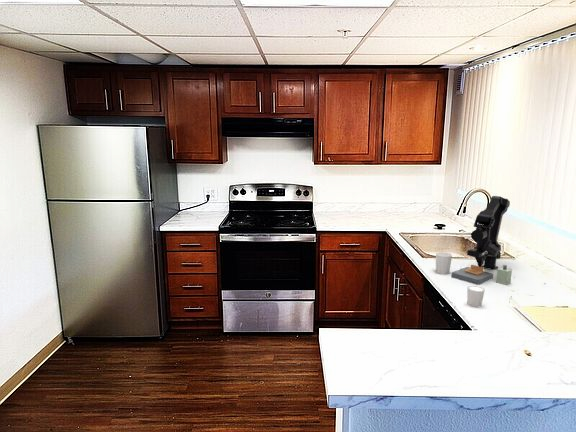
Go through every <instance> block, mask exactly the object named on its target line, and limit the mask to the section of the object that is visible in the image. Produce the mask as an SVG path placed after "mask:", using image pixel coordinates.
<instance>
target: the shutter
mask: <svg viewBox="0 0 576 432" xmlns="http://www.w3.org/2000/svg"><path fill="white" fill-rule="evenodd" d="M484 271H485V268H484V267H479V266H478V265H476V264H470V268H469V269H467V270H465V272H469V273H472V274H476V275H479V274H482V273H484Z"/></svg>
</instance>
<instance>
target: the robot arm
mask: <svg viewBox="0 0 576 432" xmlns="http://www.w3.org/2000/svg"><path fill="white" fill-rule="evenodd" d="M510 204H511V201H510V200H509V199H508V198H505V197H502V196H501V195H500V196H498V195H493V196H491V197H490V201H489V203H487V205H486V207H485V209H484V210H481V211H480V212H479V213H478V214H477V215H476V217H475V221H474V223H473V228H474V227H475V230H473V231H471V233H470V237H471V239H472V240H473V241H474V242H476V243H475V245H476V246H474V247H473V248H471V249H468V250H467V251H466V256H469V257H474V259H475V261H476V263H477V266H479V267H483V268H484V269H487V270H495V269H496V270H497V269H498V268H499V266H497V265H496V264H497V260H499V259H501V254H502V253H501V252H502V245H501V244H500V243H499V241H498V239H499V234H500V229H501V225H502V220H503V216H504V214H506V212H507V211H508V209H509V208H510Z"/></svg>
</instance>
